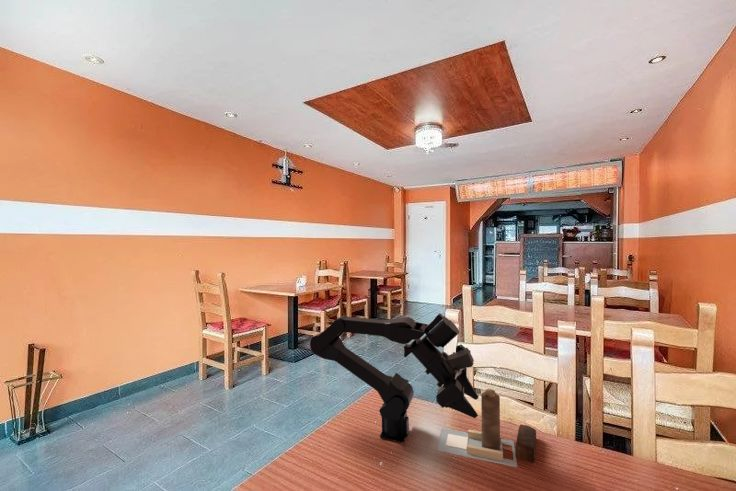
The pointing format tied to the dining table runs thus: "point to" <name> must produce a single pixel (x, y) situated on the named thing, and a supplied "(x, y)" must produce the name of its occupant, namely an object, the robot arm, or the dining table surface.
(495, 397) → the pepper mill
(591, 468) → the dining table surface
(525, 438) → the brick
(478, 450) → the board
